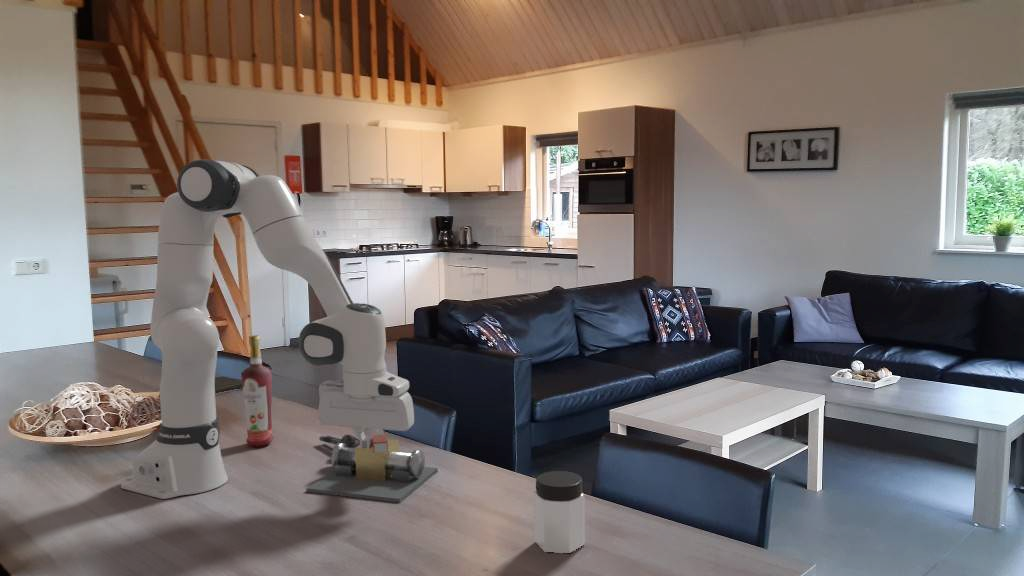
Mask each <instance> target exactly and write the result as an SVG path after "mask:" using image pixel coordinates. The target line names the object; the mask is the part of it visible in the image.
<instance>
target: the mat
mask: <svg viewBox="0 0 1024 576" xmlns="http://www.w3.org/2000/svg"><path fill="white" fill-rule="evenodd" d="M438 469H439V468H438V467H432V466H431V467H430V466H424V469H423V472H422V474H421V475H420V476H419V477H417V478H415V479H414V480H413V481H412V482H410V483H401V482H393V481H392V477H391V478H390V479H388V480H387V481H386V482H383V481H374V480H364V479H356V475H354V476H353V477H344V476H336V474H335V469H334V470H333V471H332V472H330V473H327V475H325V476H324V477H322V478H320V479H319V480H317V481H315V482H314V483H312V484H311V485H309V486H308V487H306V488H305V489H306V493H311V492H312V494H320V493H322V494H321V495H329V494H333V495H332V496H337V495H340V496H339V497H346V496H348V498H355V497H356V498H358V499H363V498H365V499H364V500H372V501H381V500H382V502H383V501H384V502H390V503H391V502H392V503H402V502H403V501H405V499H406V498H408V497H409V496H411V494H413V493H414V492H415V491H416V490H417V489H419V487H421V486H422V485H423V484H424V483H426V482H427V481H428V480H429V479H430V478H431V477H433V476H434V475H435V474H437V472H439V471H438ZM401 501H402V502H401Z"/></svg>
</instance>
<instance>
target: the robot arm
mask: <svg viewBox="0 0 1024 576" xmlns="http://www.w3.org/2000/svg"><path fill="white" fill-rule="evenodd" d="M176 180H177V181H176V186H177V187H176V188H177V189H176V190H177V192H174V193H172V194H170V195H168V196H166V198H165V199H164V200H163V201H164V202H163V204H162V207H161V208H162V209H161V212H160V213H161V214H160V217H159V218H160V219H159V225H158V233H157V234H158V236H157V242H158V243H157V264H156V266H157V267H156V284H155V290H154V294H153V295H154V296H153V301H152V302H153V303H152V312H151V321H150V328H149V330H150V331H149V332H150V333H149V334H150V337H151V340H152V343H153V344H154V346H156V347H157V349H159V350H160V351H161V352H160V353H161V377H160V384H159V399H160V400H159V401H160V402H159V403H160V414H161V416H160V417H161V423H159V424H158V425H155V426H152V427H151V429H153V430H152V431H151V433H156V432H157V433H156V437H155V440H154V441H153V442H151V443H150V445H148V446H147V447H146V448H145V449H144V450H142V451H141V452H140V453H138V455H136V456H135V458H134V460H133V463H132V475H130V476H128V477H127V478H125V479H124V480H122V482H121V484H120V488H121V489H124V490H127V491H130V492H134V493H138V494H142V495H146V496H149V497H154V498H158V499H160V500H161V499H162V500H165V499H166V500H167V499H171V498H176V497H179V496H185V495H186V496H187V495H194V494H200V493H204V492H208V491H211V490H214V489H216V488H217V489H218V488H220V487H221V486H222V485H224V484H225V483H227V482H228V481H229V475H228V473H227V472H226V471H227V470H226V467H225V465H224V461H223V456H222V452H221V446H220V441H219V439H220V421H219V417H218V416H217V407H216V406H217V405H216V396H215V378H216V371H217V362H218V361H217V360H218V347H219V345H220V334H219V330H218V328H217V326H216V323H215V322H214V321H213V320H212V319H211V318H210V317H209V316H208V315H206V311H207V303H208V299H209V292H210V288H211V285H212V283H213V280H214V279H213V278H214V277H213V276H214V247H215V246H214V242H215V238H214V237H215V236H214V235H215V233H214V232H215V226H216V223H217V222H218V220H219V219H220V218H221V217H223V218H225V219H228V218H232V217H235V216H239V215H243V217H244V218H245V220H246V222H247V224H248V226H249V229H250V231H251V233H252V236H253V238H254V241H255V243H256V245H257V249H259V252H260V253H261V255H262V257H264V259H265V260H266V261H267V263H269V264H270V265H272V266H273V267H275V268H278V269H279V270H284V271H287V272H290V273H292V274H295V275H296V276H299V277H300V278H302V279H304V280H305V281H306V282H307V283H308V284H309V285H310V287H311V288H312V289H313V291H314V295H316V297H317V299H318V301H319V303H320V304H321V307H322V309H323V311H324V312H325V314H326V317H325V316H324V317H323V318H320V319H316V320H314V321H312V322H309V323H307V324H306V325H305V326H304V327H303V328H302V329H301V331H300V333H299V336H298V347H299V352H300V354H301V355H302V357H303V359H304V360H305V361H306V362H308V363H309V364H311V365H314V366H317V367H319V366H320V367H321V366H323V367H324V366H329V365H334V364H339V365H341V366H342V380H328V379H326V380H325V381H324V382H322V383H321V384H320V385H319V387H318V396H319V402H318V403H319V404H318V413H317V416H318V418H317V419H318V422H320V424H321V425H323V426H335V427H349V428H354V434H355V436H356V438H357V439H358V440H360V448H367V449H370V448H371V447H372V439H373V438H374V436H375V434H376V432H377V429H383V431H384V430H385V431H386V430H387V431H400V432H406V431H408V430H409V429H410V428H411V427H412V426H413V425H414V423H415V408H414V402H413V398H412V396H411V394H410V393H409V392H408V391H409V388H410V381H409V380H408V379H406V378H403V377H401V376H398V375H395V374H393V373H391V372H389V371H387V362H386V361H385V353H386V349H387V337H386V323H385V317H384V316H383V313H382V311H381V309H380V308H379V307H377V306H375V305H372V304H368V303H358V302H356V303H355V302H353V300H352V299H351V296H350V294H349V292H348V291H347V289H346V287H345V286H344V283H343V281H342V280H341V277H340V275H339V274H338V271H337V270H336V268H335V266H334V264H333V262H332V261H331V260H330V258H329V256H328V255H327V254H326V252H325V251H324V249H322V247H321V246H320V244H319V243H318V241H317V239H316V237H315V236H314V235H313V232H312V231H311V228H310V227H309V224H308V223H307V220H306V218H305V215H304V213H303V211H302V208H301V207H300V205H299V203H298V201H297V199H296V197H295V195H294V194H293V192H292V190H291V189H290V187H289V186H288V184H287V183H286V182H285V180H284V179H282V177H280V176H277V175H275V174H263V175H260V174H259V173H258V172H257V171H256V170H254V169H253V168H251V167H249V166H247V165H244V164H239V163H236V162H233V161H228V160H214V159H210V158H208V159H207V158H202V159H196V160H193V161H190V162H189V163H187V164H186V165H184V166H183V167H182V169H181V170H180V172H179V173H178V176H177V179H176ZM365 429H366V432H367V434H369V435H368V436H367V437H366V435H365V432H364V430H365Z"/></svg>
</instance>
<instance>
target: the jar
mask: <svg viewBox="0 0 1024 576" xmlns="http://www.w3.org/2000/svg"><path fill="white" fill-rule="evenodd" d="M585 497H586V495H585V493H583V478H582V477H581V476H580V475H579V474H578V473H575V472H571V471H566V470H551V471H547V472H543V473H541V474H539V475H538V476H536V479H535V491H534V492H533V502H534V503H533V504H534V505H533V506H534V511H533V512H534V513H533V514H534V542H535V544H537V545H539V546H538V547H539V548H540V549H541V550H542V552H544V553H547V552H554V553H553V554H563V553H571V552H572V553H574V552H576V551H577V550H578V548H579V549H580V548H582V547H583V545H584V546H585V545H586V504H585V499H586V498H585ZM581 546H582V547H581ZM576 549H577V550H576ZM573 551H574V552H573ZM572 553H571V554H572Z"/></svg>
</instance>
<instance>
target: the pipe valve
mask: <svg viewBox="0 0 1024 576" xmlns="http://www.w3.org/2000/svg"><path fill="white" fill-rule="evenodd" d="M387 440H388V452H379V453H373V449H372V447H371V448H370V449H367V448H360V445H359V446H357V447H355V448H349V447H347V445H346V444H344V443H337V444H336V445H335V444H334V446H333V448H332V450H331V453H330V454H331V456H330V463H331V466H332V467H333V468H334V470H335V474H336V476H344V477H353V476H354V475H356V479H364V480H374V481H383V482H386V481H387V480H388V479H390V478H391V477H392V481H393V482H401V483H410V482H412V481H413V480H414V479H415V478H417V477H419V476H420V475H421V474H422V472H423V469H424V467H425V463H426V458H425V454H424V451H423V450H422V449H420V450H419V449H414V450H412V452H401V451H400V443H399V442H400V441H399V440H398V439H397V440H395V439H387Z"/></svg>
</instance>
